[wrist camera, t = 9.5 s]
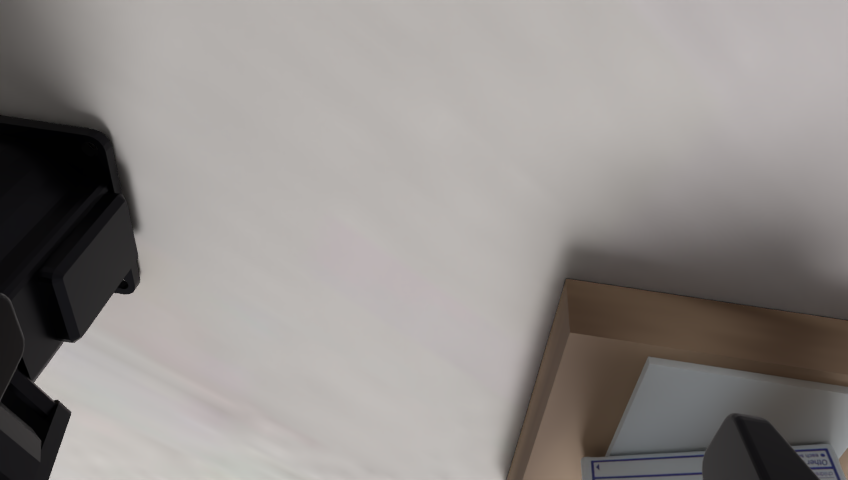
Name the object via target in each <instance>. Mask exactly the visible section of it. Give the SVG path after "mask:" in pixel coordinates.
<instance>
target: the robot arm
mask: <svg viewBox="0 0 848 480" xmlns="http://www.w3.org/2000/svg"><path fill="white" fill-rule="evenodd" d="M88 142H89V143H91V144H93V145H94V146H95V147H96V148H97V150H95V149H93V148H92V147H91V146H90V145H89V143H88ZM137 259H138V253H137V248H136V243H135V238H134V234H133V229H132V224H131V219H130V214H129V210H128V205H127V201H126V200H125V198H124V196H123V195H122V191H121V186H120V181H119V177H118V172H117V167H116V163H115V158H114V153H113V148H112V145H111V142H110V140H109V139H108V138H107V136H106V135H105V134H103V133H102V132H100V131H98V130H95V129H89V128H83V127H76V126H69V125H62V124H55V123H48V122H41V121H34V120H27V119H20V118H14V117H7V116H0V480H48V479H49V477H50V474H51V471H52V468H53V465H54V462H55V459H56V456H57V453H58V450H59V448H60V445H61V442H62V439H63V436H64V433H65V430H66V427H67V424H68V422H69V419H70V416H71V411H69V410H68V409H67V408H66V407H65V406H64V405H63V404H62V403H61V402H60V401H58V400H54V401H53V400H52V399H51V398H50V397H49V396H48V395H47V394H46V393H45V392H44V391H42V390H41V389H40V388H39V387H38V386H37V385H36V384H35V383H34V382H35V380H36V379H37V378H38V376H39V375H40V374H41V372H42V371H43V370H44V368H45V367H46V365H47V364H48V363H49V361H50V360H51V359H52V357H53V356H54V355H55V353H56V352H57V351H58V349H59V348H60V346H61V345H62V344H63V342H71V343H75V342H76V341H77V340H79V339H80V338H81V337H82V336H83V335H84V334H85V332H86V331H87V330H88V328H89V327H90V325H91V324H92V322H93V321H94V320H95V318H96V317H97V315H98V314H99V313H100V311H101V310H102V308H103V307H104V306H105V304H106V303H107V301H108V300H109V299H110V297H111V296H112V294H113V293H119V294H130V293H133V292H134V290H135V289H136V287H137V286H138V284H139V283H140V276H139V271H138V267H137V262H136V261H137ZM123 279H124V280H125V281H124V280H123ZM702 476H703V480H820V479H819V478H818V476H817V475H816V474H815V473H814V472H813V471H812V470H811V468H810V467H809V466H808V465H807V464H806V463H805V462H804V460H803V459H802V458H801V457H800V456H799V455H798V454H797V452H796V451H795V450H794V449H793V448H792V447H791V446H790V444H789V443H788V442H787V441H786V440H785V439H784V438H783V436H782V435H781V434H780V433H779V432H778V431H777V430H776V428H775V427H774V426H773V425H772V424H771V423H770V422H769V421H767V420H766V419H764V418H762V417H758V416H752V415H746V414H740V413H732V414H730V415H728V416H727V417H726V418H725V419H724V421H723V423H722V424H721V426H720V427H719V429H718V431H717V432H716V434H715V436H714V437H713V439H712V441H711V442H710V444H709V446H708V447H707V449H706V451H705V454H704V457H703V462H702Z"/></svg>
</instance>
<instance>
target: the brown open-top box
mask: <svg viewBox="0 0 848 480" xmlns="http://www.w3.org/2000/svg"><path fill="white" fill-rule="evenodd" d="M732 413H740V414H746V415H752V416H758V417H762V418H764V419H766V420H767V421H769V422H770V423H771V424H772V425H773V426H774V427H775V428H776V430H777V431H778V432H779V433H780V434H781V435H782V436H783V438H784V439H785V440H786V441H787V442H788V443H789V444H790V446H800V445H815V444H830V445H831V446H832V447H833V448H834V450H835V452H836V455H837V457H838V459H839V462H840V465H841V468H842V470H843V472H844V475H845V477H846V479H847V480H848V321H847V320H840V319H834V318H827V317H820V316H814V315H807V314H800V313H793V312H787V311H780V310H773V309H767V308H760V307H753V306H747V305H740V304H733V303H726V302H720V301H713V300H706V299H700V298H693V297H686V296H680V295H673V294H666V293H659V292H653V291H646V290H639V289H633V288H626V287H619V286H612V285H606V284H599V283H592V282H586V281H579V280H572V279H566V281H565V284H564V287H563V291H562V294H561V298H560V301H559V304H558V308H557V311H556V315H555V318H554V321H553V325H552V328H551V332H550V335H549V338H548V342H547V345H546V348H545V352H544V355H543V359H542V362H541V365H540V369H539V372H538V376H537V379H536V382H535V386H534V389H533V392H532V396H531V399H530V403H529V406H528V409H527V413H526V416H525V420H524V423H523V426H522V430H521V433H520V437H519V440H518V443H517V447H516V450H515V453H514V457H513V460H512V464H511V467H510V470H509V474H508V477H507V480H582V473H581V459H582V458H583V457H605V456H624V455H640V454H658V453H676V452H694V451H706V449H707V447H708V446H709V444H710V442H711V441H712V439H713V437H714V436H715V434H716V432H717V431H718V429H719V427H720V426H721V424H722V423H723V421H724V419H725V418H726V417H727V416H728V415H730V414H732Z"/></svg>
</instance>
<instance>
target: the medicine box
mask: <svg viewBox="0 0 848 480" xmlns="http://www.w3.org/2000/svg"><path fill="white" fill-rule="evenodd" d="M791 447H792V448H793V449H794V450H795V451H796V452H797V454H798V455H799V456H800V457H801V458H802V459H803V460H804V462H805V463H806V464H807V465H808V466H809V467H810V468H811V470H812V471H813V472H814V473H815V474H816V475H817V476H818V478H819V479H820V480H847V479H846V477H845V475H844V472H843V470H842V468H841V465H840V462H839V459H838V457H837V455H836V452H835V450H834V448H833V447H832V446H831V445H830V444H815V445H800V446H791ZM704 454H705V451H694V452H676V453H658V454H640V455H624V456H605V457H583V458H582V459H581V473H582V480H703V476H702V462H703V457H704Z"/></svg>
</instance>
